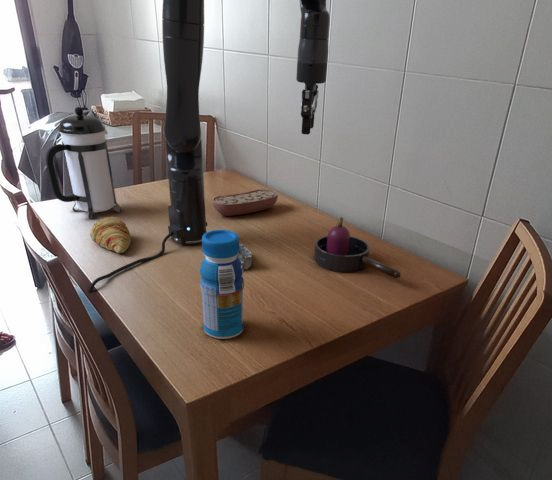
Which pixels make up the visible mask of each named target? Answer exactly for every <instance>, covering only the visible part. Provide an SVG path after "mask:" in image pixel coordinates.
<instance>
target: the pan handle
mask: <svg viewBox="0 0 552 480" xmlns="http://www.w3.org/2000/svg"><path fill="white" fill-rule="evenodd" d="M361 261H362V263H363V264H365V265H366V266H368V267H370V268H372V269H375V270H377V271H379V272H381V273H383V274H385V275H388V276H390V277H392V278H394V279H399V278H400V277H401V271H399V270H398V269H395V268H393V267H392V266H391V267H390V266H388V265H386V264H384V263H381V262H379V261H377V260H375V259H372V258H370V257H369V258H368V257H363V258H362V259H361Z"/></svg>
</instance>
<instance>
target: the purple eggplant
mask: <svg viewBox="0 0 552 480" xmlns="http://www.w3.org/2000/svg"><path fill="white" fill-rule="evenodd" d="M343 223H344V218H343V217H342V216H339V217H338V219H337V225H334V226H332V227H331V228H330V229H329V231H328V233H327V236H328V237H327V247H326V252H328V253H331V254H336V255H344V256H348V248H349V240H350V236H351V234H350V231H349V229H348V228H347V227H345V226H344V224H343Z"/></svg>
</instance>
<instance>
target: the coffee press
mask: <svg viewBox="0 0 552 480" xmlns="http://www.w3.org/2000/svg"><path fill="white" fill-rule="evenodd" d="M74 113H75V114H76V115H71V116H66V117H64V118H63V119H61V120H60V122H59V126H58V128H57V129H58V132H59V134H60V137H61V144H55V145H52V146H51V147H49V149H48V150H47V152H46V155H45V164H46V165H45V166H46V171H47V174H48V179H49V183H50V187H51V190H52V193H53V195H54V197H55V198H56V199H58V200H59V201H61V202H64V203H72V202H74V205H73V207H72V211H73V212H74V213H75V212H78V211H79V210H80V211H82V212H86V213H88V214H87V215H88V216H87V217H88V219H89V220H95V215H96V213H101V212H106V211H109V210H114V211H115V212H116V213H120V212H121V211H122V206H120V204H119V203H118V202H117V198H116V197H117V196H116V191H115V185H114V179H113V172H112V166H111V161H110V153H109V149H108V141H107V138H106V135H108V134H109V133H108V130H107V129H106V126H105V125H104V124H103V121H102V120H101V119H99V118H98V117H96V116H91V115H83V114H84V110H83V108H82V107H81V106H77V107H75V109H74ZM62 151H63V153H64V157H65V161H66V167H67V171H68V175H69V181H70V187H71V190H72V194H71V195H63V194H62V192H61V190H60V186H59V182H58V178H57V173H56V169H55V164H54V158H55V155H57V153H60V152H62ZM115 206H116V207H117V208H118V209H117V208H116V207H115ZM75 207H76V208H77V209H76V208H75Z"/></svg>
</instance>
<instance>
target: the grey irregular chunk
mask: <svg viewBox="0 0 552 480" xmlns="http://www.w3.org/2000/svg"><path fill="white" fill-rule="evenodd" d="M237 257H238V258H239V260H240V261H241V263H242V266H243V270H249V268H250V267H251V268H252V262H253V260H252V257H253V253H252V252H251V250H249V249H248V248H247V247H246V246H245V244H243V243H239V253H238V255H237Z"/></svg>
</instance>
